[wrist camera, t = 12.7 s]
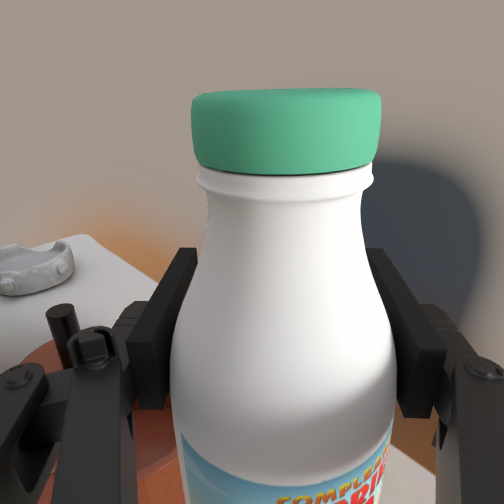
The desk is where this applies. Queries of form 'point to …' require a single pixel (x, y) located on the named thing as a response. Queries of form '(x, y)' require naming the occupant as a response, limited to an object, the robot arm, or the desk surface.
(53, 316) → the lid
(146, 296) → the desk surface
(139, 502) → the pot
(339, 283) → the milk bottle
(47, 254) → the dish
